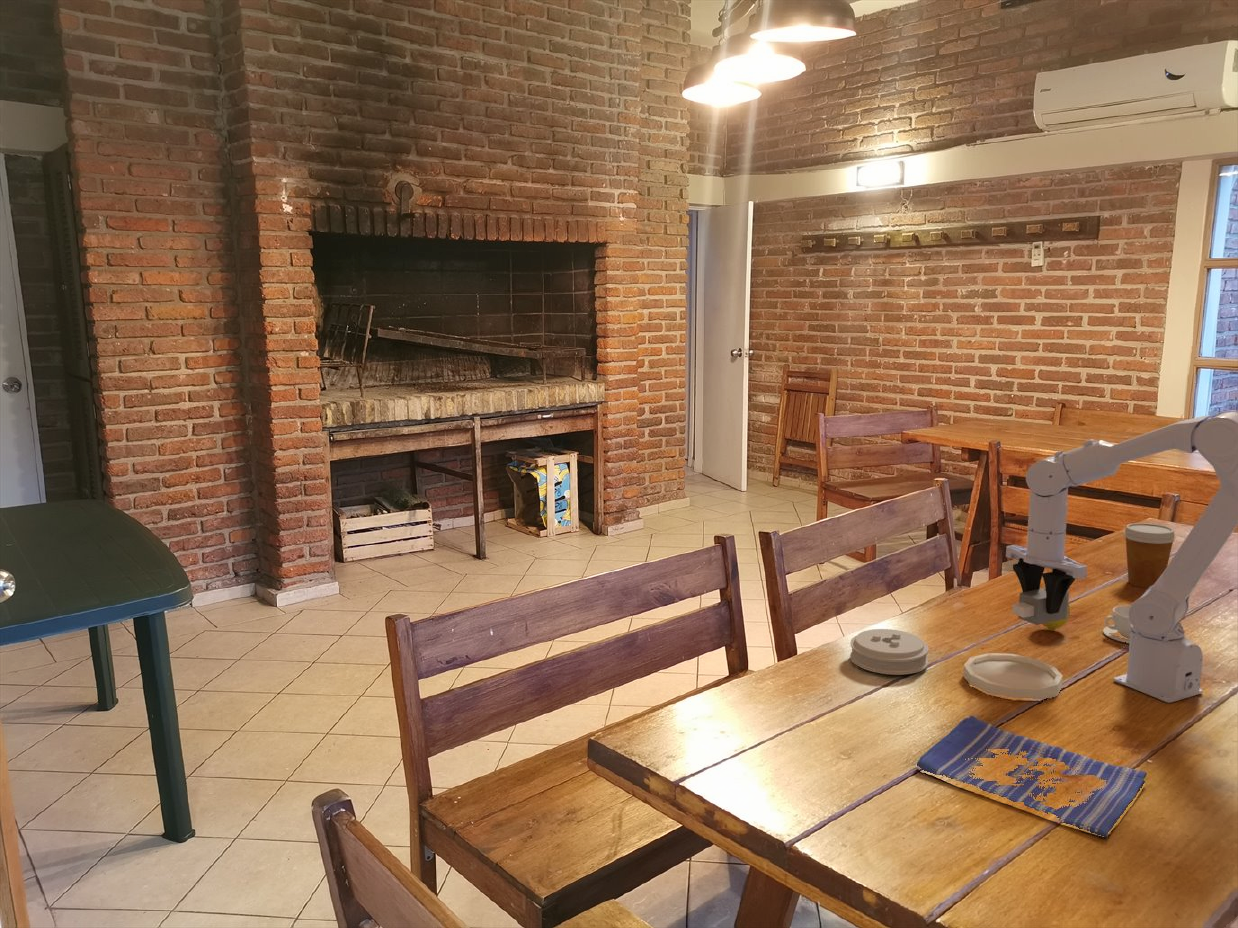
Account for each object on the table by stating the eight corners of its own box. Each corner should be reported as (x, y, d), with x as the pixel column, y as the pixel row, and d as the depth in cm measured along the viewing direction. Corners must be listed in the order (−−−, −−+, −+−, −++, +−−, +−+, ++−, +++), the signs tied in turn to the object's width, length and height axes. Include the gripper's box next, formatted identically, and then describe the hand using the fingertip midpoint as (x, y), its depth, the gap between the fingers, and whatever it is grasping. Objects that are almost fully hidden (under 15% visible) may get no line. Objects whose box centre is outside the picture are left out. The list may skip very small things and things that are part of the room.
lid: (899, 687, 146) (900, 657, 145) (834, 664, 156) (835, 636, 155) (943, 665, 154) (944, 637, 153) (878, 644, 164) (879, 618, 163)
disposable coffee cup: (1125, 589, 189) (1129, 532, 187) (1115, 575, 198) (1119, 521, 196) (1177, 592, 186) (1182, 535, 184) (1164, 578, 195) (1169, 523, 193)
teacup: (1150, 627, 168) (1152, 603, 167) (1177, 648, 158) (1179, 622, 158) (1093, 627, 169) (1095, 602, 168) (1116, 647, 160) (1118, 621, 159)
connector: (1072, 617, 154) (1074, 592, 153) (1026, 627, 150) (1028, 601, 149) (1053, 610, 157) (1055, 585, 157) (1008, 620, 153) (1009, 594, 152)
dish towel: (966, 729, 132) (967, 710, 132) (1149, 786, 116) (1151, 765, 115) (910, 775, 120) (911, 755, 120) (1106, 846, 104) (1107, 824, 103)
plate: (1080, 689, 143) (1081, 677, 142) (1014, 708, 137) (1015, 695, 137) (1009, 659, 155) (1009, 647, 155) (946, 674, 150) (946, 663, 149)
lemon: (1064, 638, 164) (1067, 595, 162) (1031, 632, 167) (1034, 590, 165) (1071, 629, 168) (1074, 587, 166) (1039, 623, 171) (1041, 582, 170)
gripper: (994, 523, 156) (990, 599, 158) (1066, 543, 143) (1061, 626, 145) (1024, 518, 159) (1020, 593, 161) (1098, 537, 146) (1092, 619, 148)
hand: (1041, 608), depth 153 cm, fingers closed on connector, 4 cm apart
